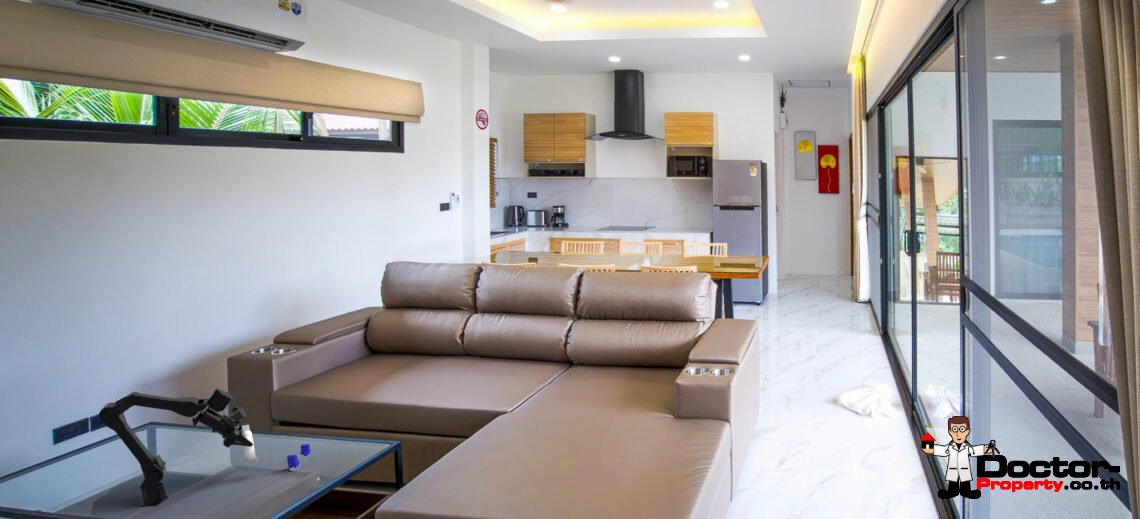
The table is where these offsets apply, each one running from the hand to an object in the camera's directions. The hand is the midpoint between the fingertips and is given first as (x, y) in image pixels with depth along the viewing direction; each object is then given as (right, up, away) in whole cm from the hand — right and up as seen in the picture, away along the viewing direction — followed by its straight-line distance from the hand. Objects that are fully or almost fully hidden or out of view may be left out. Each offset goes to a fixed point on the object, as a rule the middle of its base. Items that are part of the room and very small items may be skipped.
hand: (252, 443), depth 286 cm
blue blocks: (+13, -11, +11) cm, 21 cm away
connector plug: (-1, -7, 0) cm, 7 cm away
